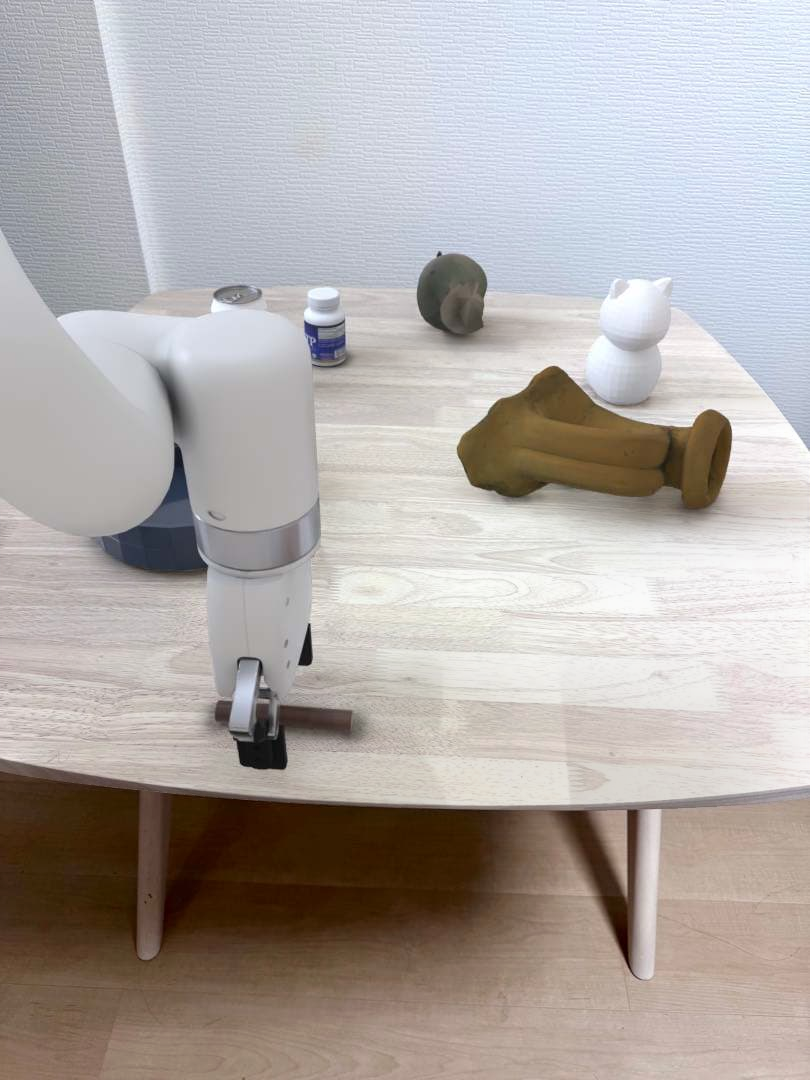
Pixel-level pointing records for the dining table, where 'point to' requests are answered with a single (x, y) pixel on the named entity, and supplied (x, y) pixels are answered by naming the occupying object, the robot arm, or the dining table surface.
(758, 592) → the dining table surface
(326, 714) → the stick
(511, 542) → the dining table surface
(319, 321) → the pill bottle
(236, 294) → the can
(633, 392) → the cat figurine
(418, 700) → the dining table surface
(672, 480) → the brown looped sculpture
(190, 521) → the bowl
